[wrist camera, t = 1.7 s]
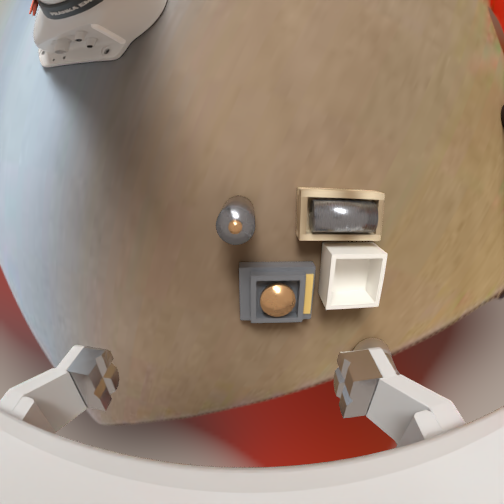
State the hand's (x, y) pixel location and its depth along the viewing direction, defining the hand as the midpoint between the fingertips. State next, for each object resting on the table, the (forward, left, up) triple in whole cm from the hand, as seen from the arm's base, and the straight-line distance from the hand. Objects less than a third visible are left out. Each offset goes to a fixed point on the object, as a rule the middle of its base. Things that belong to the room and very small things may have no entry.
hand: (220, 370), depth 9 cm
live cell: (+12, 0, -30) cm, 32 cm away
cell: (-1, 0, -30) cm, 30 cm away
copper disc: (+4, -11, -26) cm, 29 cm away
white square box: (+14, -8, -30) cm, 34 cm away
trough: (+12, 0, -30) cm, 32 cm away
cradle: (+4, -11, -30) cm, 32 cm away
